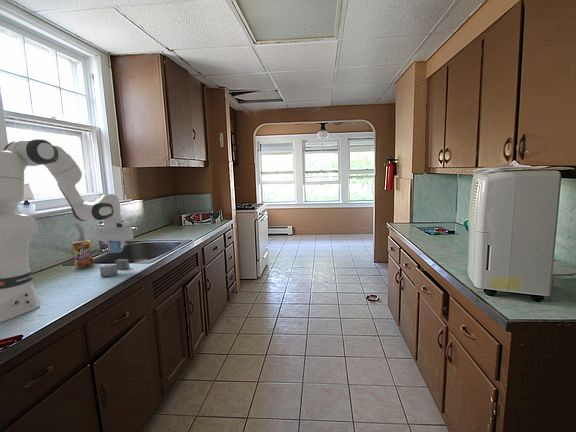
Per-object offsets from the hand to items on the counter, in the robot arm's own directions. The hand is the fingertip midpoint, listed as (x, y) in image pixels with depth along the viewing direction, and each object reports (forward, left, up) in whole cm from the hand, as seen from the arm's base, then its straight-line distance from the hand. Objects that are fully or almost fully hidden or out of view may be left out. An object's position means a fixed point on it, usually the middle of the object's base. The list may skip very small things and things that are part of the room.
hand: (116, 248), depth 175 cm
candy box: (+8, +27, -13) cm, 31 cm away
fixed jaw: (+4, 0, -13) cm, 13 cm away
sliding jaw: (-8, 0, -13) cm, 15 cm away
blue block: (0, 0, -2) cm, 2 cm away
